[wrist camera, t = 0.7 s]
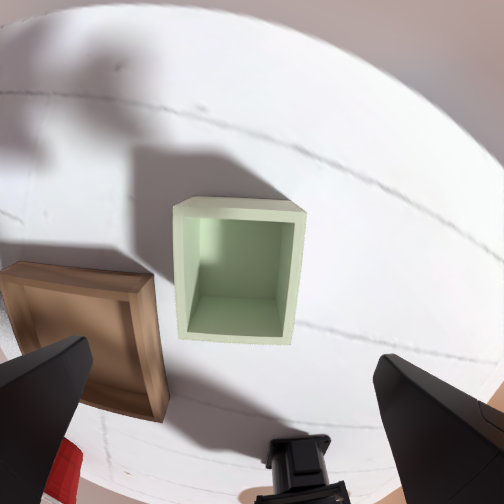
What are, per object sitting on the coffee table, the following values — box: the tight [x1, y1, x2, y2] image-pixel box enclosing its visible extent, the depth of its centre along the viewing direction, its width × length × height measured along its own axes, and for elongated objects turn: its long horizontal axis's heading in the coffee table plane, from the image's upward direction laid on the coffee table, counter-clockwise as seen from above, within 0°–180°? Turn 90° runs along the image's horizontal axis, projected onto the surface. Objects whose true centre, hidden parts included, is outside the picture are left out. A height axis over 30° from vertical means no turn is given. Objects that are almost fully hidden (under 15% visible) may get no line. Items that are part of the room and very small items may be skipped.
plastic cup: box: [42, 438, 83, 504], centre depth 21 cm, size 11×11×12 cm
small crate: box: [173, 196, 307, 345], centre depth 15 cm, size 7×6×5 cm
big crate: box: [0, 261, 170, 423], centre depth 18 cm, size 12×14×3 cm
